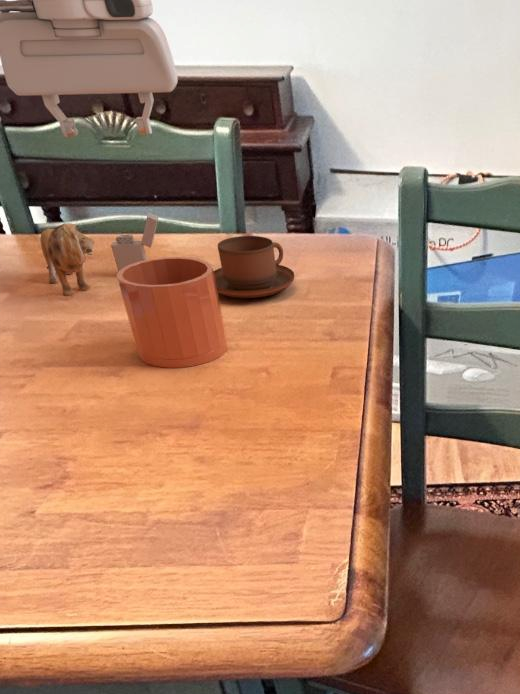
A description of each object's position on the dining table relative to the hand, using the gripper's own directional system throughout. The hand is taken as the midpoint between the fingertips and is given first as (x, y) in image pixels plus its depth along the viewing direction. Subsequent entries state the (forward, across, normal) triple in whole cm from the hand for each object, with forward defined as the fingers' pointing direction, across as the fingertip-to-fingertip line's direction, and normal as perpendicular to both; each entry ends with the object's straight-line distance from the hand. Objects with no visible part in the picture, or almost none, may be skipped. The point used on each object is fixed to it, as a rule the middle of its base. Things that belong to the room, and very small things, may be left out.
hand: (108, 134), depth 97 cm
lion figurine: (+18, -9, -4) cm, 20 cm away
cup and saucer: (+18, +16, -9) cm, 26 cm away
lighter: (+18, 0, 0) cm, 18 cm away
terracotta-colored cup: (+18, +9, -29) cm, 35 cm away
